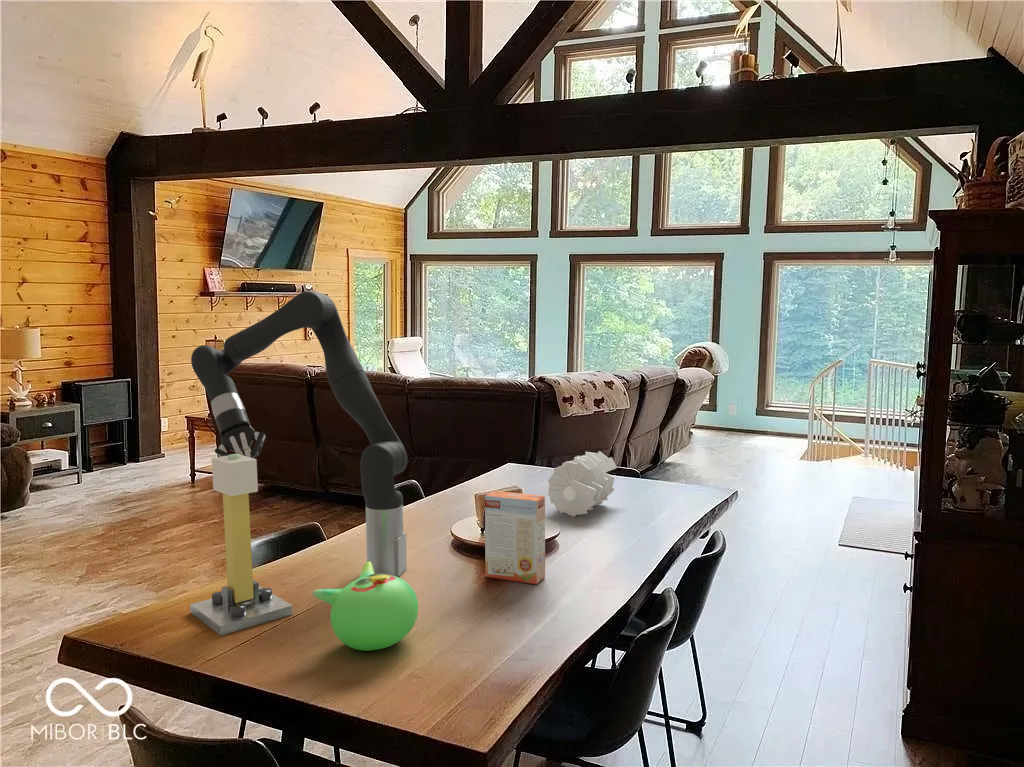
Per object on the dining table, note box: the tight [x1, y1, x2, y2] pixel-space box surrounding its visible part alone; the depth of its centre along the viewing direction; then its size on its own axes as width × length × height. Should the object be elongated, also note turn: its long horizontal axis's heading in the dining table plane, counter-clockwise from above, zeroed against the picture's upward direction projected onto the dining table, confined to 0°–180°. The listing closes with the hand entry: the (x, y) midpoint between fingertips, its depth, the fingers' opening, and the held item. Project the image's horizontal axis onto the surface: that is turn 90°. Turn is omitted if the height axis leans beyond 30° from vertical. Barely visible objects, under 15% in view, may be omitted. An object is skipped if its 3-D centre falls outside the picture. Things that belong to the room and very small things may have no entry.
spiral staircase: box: [547, 450, 618, 518], centre depth 255 cm, size 18×18×25 cm
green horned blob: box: [312, 561, 419, 652], centre depth 156 cm, size 18×17×15 cm
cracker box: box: [484, 490, 546, 585], centre depth 192 cm, size 14×6×21 cm, turn 65°
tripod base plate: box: [189, 579, 294, 636], centre depth 171 cm, size 16×16×6 cm
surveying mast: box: [211, 453, 259, 605], centre depth 170 cm, size 9×6×33 cm, turn 43°
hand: (251, 474), depth 192 cm, fingers closed
